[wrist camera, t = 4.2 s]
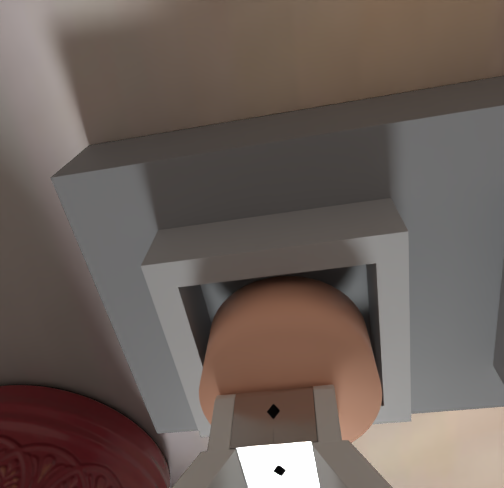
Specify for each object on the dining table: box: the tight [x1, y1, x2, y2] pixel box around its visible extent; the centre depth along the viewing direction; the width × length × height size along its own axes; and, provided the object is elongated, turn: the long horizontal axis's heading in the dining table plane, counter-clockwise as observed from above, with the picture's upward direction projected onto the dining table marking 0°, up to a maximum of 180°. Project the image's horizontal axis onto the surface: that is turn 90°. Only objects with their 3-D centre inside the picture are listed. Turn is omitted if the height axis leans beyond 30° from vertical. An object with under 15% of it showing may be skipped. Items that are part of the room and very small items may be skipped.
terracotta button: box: [199, 276, 382, 443], centre depth 12 cm, size 5×5×2 cm
